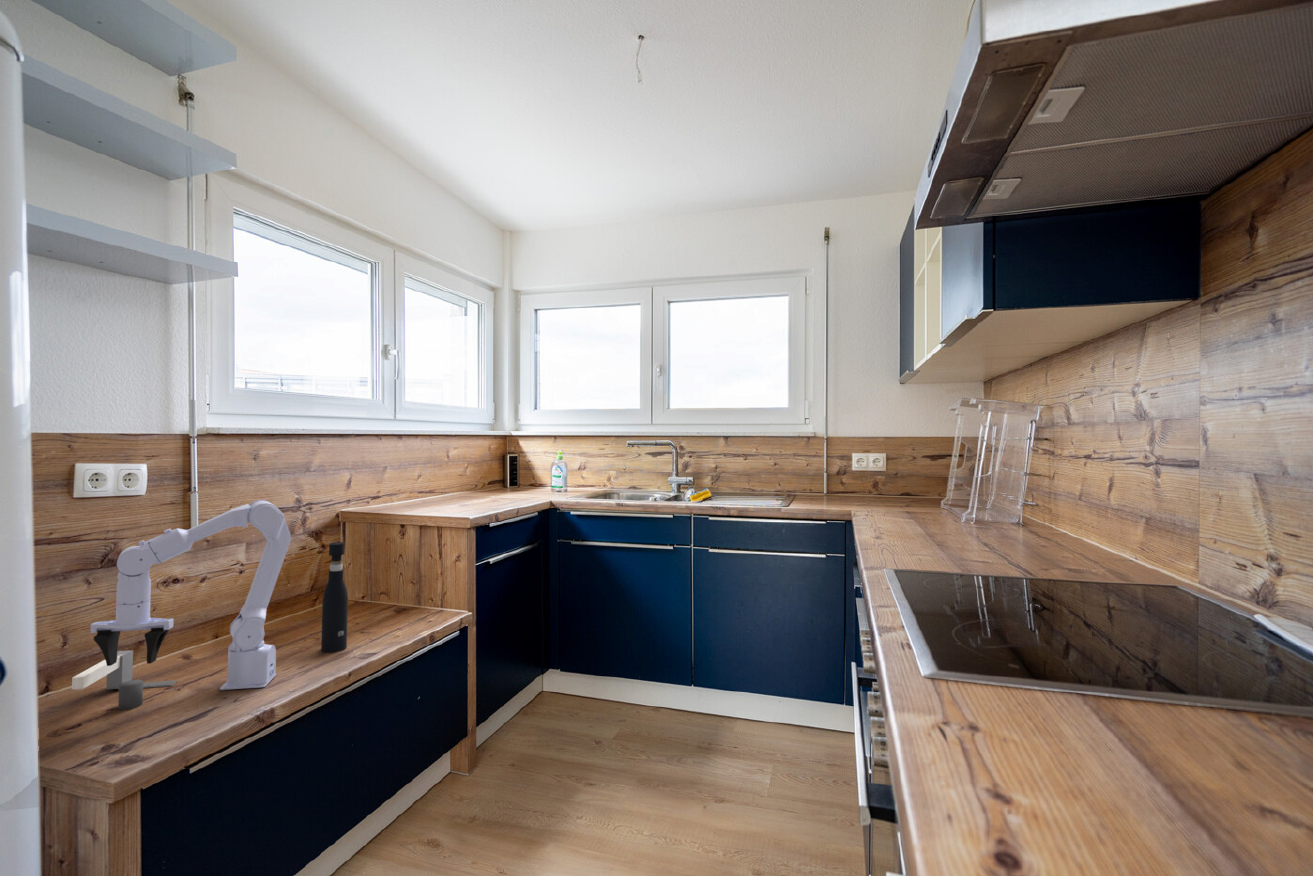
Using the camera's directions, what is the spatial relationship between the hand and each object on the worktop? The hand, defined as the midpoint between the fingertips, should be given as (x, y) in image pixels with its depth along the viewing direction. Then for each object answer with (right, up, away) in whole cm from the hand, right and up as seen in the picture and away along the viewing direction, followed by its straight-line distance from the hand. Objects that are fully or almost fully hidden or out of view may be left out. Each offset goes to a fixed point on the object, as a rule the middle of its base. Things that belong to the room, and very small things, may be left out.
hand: (131, 663), depth 132 cm
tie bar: (-10, -9, +4) cm, 14 cm away
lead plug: (0, -9, 0) cm, 9 cm away
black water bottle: (+24, -10, +38) cm, 46 cm away
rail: (-5, -9, +11) cm, 15 cm away
